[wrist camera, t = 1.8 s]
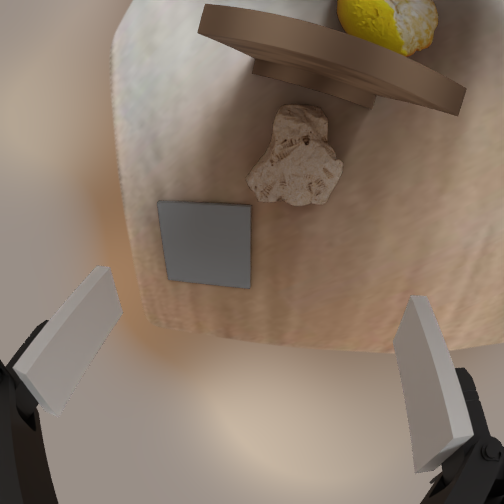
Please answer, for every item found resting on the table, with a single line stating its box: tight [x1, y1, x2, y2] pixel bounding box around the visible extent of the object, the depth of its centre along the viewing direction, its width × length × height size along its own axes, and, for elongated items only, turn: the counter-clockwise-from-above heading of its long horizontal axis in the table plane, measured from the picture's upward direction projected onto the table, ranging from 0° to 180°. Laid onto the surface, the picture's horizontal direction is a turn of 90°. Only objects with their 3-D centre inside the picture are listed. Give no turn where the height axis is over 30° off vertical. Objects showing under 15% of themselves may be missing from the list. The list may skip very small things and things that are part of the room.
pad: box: [157, 201, 251, 289], centre depth 41 cm, size 12×12×1 cm
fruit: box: [337, 0, 439, 57], centre depth 21 cm, size 11×10×8 cm
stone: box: [246, 104, 343, 206], centre depth 32 cm, size 9×11×5 cm
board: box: [198, 4, 466, 116], centre depth 20 cm, size 13×5×20 cm, turn 76°
